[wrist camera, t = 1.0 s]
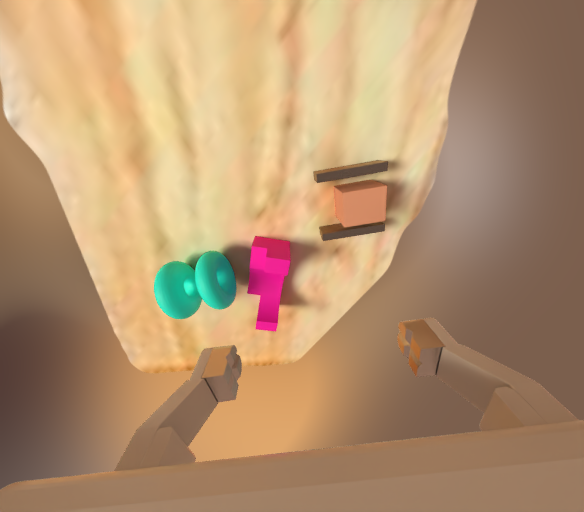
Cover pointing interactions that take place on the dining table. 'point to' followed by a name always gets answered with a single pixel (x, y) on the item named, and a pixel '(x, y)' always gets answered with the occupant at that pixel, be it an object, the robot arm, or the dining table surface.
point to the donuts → (195, 285)
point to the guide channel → (346, 172)
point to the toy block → (268, 278)
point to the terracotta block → (360, 202)
